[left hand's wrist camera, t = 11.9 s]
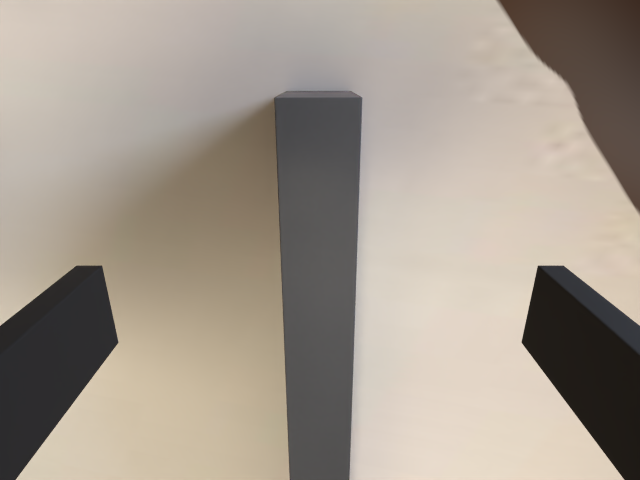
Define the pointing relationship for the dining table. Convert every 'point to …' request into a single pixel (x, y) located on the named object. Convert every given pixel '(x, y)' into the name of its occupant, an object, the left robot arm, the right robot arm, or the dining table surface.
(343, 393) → the bar
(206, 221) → the dining table surface
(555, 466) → the dining table surface
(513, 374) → the dining table surface
